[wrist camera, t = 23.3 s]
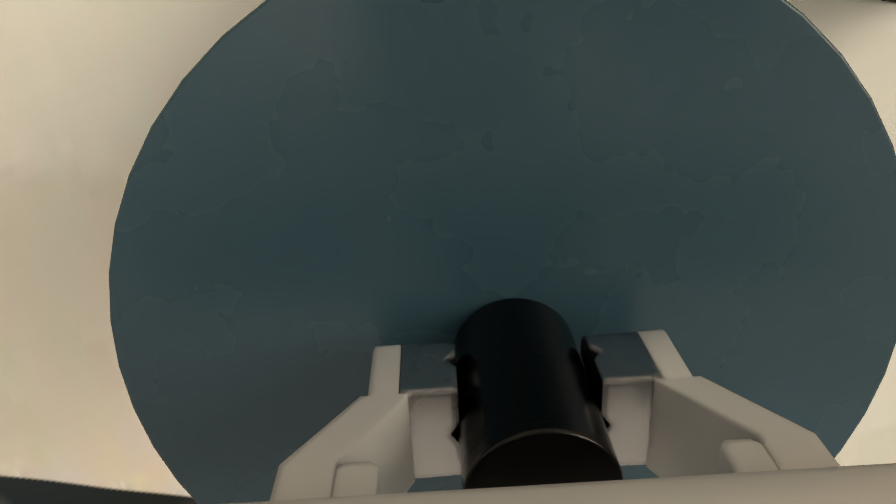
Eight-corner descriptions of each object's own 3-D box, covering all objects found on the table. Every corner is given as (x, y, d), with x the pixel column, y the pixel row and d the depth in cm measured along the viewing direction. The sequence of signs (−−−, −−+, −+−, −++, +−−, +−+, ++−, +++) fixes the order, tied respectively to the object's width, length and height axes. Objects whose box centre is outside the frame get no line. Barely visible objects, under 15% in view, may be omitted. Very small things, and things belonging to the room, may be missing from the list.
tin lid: (-42, 217, 14) (-279, 366, 9) (698, -301, 11) (909, -474, 6) (401, 661, 20) (395, 890, 15) (964, 407, 16) (1176, 596, 12)
